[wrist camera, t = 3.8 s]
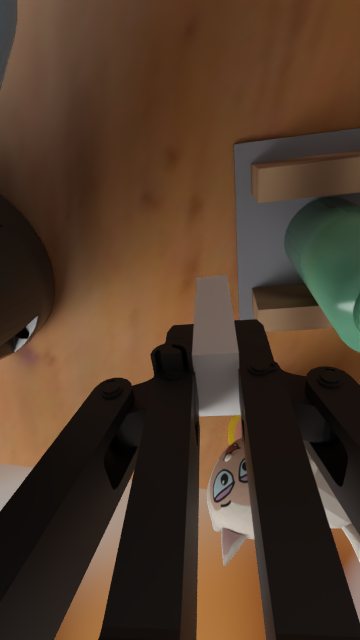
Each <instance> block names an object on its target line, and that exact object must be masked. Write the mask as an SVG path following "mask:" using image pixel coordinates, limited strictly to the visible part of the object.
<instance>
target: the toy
mask: <svg viewBox="0 0 360 640" xmlns="http://www.w3.org/2000/svg"><path fill="white" fill-rule="evenodd" d="M228 441H229V445H230V446H228V448H227V449H226V450H225V451H224V452H223V453H222V455H221V456H220V458H219V459H218V461H217V463H216V464H215V466H214V468H213V471H212V474H211V477H210V480H209V483H208V489H207V504H208V508H209V512H210V517H211V520H212V522H213V528H214V530H215V531H221V541H222V555H223V563H224V566H225V565H226V564H227V563H228V562H229V561H230V560H231V558H232V557H233V556H234V555H235V553H236V552H237V551H238V550H239V548H240V547H241V545H242V544H243V542H244V541H245V539H246V538H250V539H254V530H253V522H252V513H251V505H250V496H249V488H248V479H247V471H246V462H245V453H244V445H243V442H242V430H241V415H234V417H233V418H232V420H231V421H230V424H229V428H228ZM306 452H307V455H308V458H309V461H310V464H311V468H312V471H313V474H314V477H315V480H316V484H317V487H318V490H319V493H320V497H321V500H322V503H323V506H324V509H325V513H326V516H327V519H328V522H329V526H330V528H342V529H343V531H344V532H345V534H346V536H347V537H348V539H349V540H350V542H351V544H352V546H353V548H354V550H355V552H356V554H357V557H358V559H359V562H360V536H359V534H358V532H357V531H356V529H355V527H354V526H353V524H351V521H350V519H349V518H348V516H347V514H346V513H345V511H344V510H343V508H342V506H341V505H340V503H339V502H338V500H337V498H336V497H335V495H334V493H333V492H332V490H331V489H330V487H329V485H328V484H327V482H326V481H325V479H324V477H323V476H322V474H321V472H320V471H319V469H318V468H317V466H316V464H315V463H314V461H313V460H312V458H311V456H310V455H309V453H308V451H307V450H306Z"/></svg>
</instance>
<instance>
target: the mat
mask: <svg viewBox="0 0 360 640" xmlns="http://www.w3.org/2000/svg"><path fill="white" fill-rule="evenodd" d="M357 150H360V128H356V129H348V130H340V131H333V132H325V133H317V134H309V135H301V136H293V137H286V138H278V139H270V140H262V141H254V142H247V143H239V144H234V167H235V198H236V229H237V261H238V292H239V320H250V319H255V318H254V314H253V310H252V288H260V287H273V286H286V285H299V284H305V283H304V281H303V280H302V278H301V277H300V275H299V274H298V272H297V271H296V269H295V268H294V266H293V265H292V263H291V262H290V260H289V258H288V257H287V255H286V252H285V247H284V238H285V233H286V229H287V227H288V225H289V223H290V221H291V219H292V218H293V217H294V215H295V214H296V213H297V212H298V211H299V210H300V209H301V208H303V207H304V206H305V205H307V204H309V203H310V202H312V201H315V200H317V199H320V198H325V197H339V198H343V199H346V200H348V201H350V202H352V203H354V204H356V205H358V206H360V192H358V193H348V194H339V195H330V196H320V197H311V198H302V199H292V200H283V201H274V202H264V203H258V202H257V200H256V199H255V198H254V196H253V195H252V194H251V163H258V162H266V161H274V160H283V159H291V158H299V157H308V156H316V155H324V154H332V153H341V152H349V151H357Z"/></svg>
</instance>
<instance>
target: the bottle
mask: <svg viewBox="0 0 360 640" xmlns="http://www.w3.org/2000/svg"><path fill="white" fill-rule="evenodd" d="M284 247H285V252H286V255H287V257H288V258H289V260H290V262H291V263H292V265H293V266H294V268H295V269H296V271H297V272H298V274H299V275H300V277H301V278H302V280H303V281H304V283H305V284H306V286H307V288H308V289H309V291H310V292H311V294H312V295H313V297H314V298H315V300H316V301H317V303H318V304H319V306H320V307H321V309H322V310H323V312H324V314H325V315H326V317H327V318H328V320H329V321H330V323H331V324H332V326H333V327H334V329H335V330H336V332H337V333H338V335H339V336H340V338H341V339H342V341H343V342H344V343H345V344H346V345H347V346H349V347H350V348H352V349H353V350H355V351H357V352H359V353H360V206H358V205H356V204H354V203H352V202H350V201H348V200H346V199H343V198H339V197H325V198H320V199H317V200H315V201H312V202H310V203H309V204H307V205H305V206H304V207H303V208H301V209H300V210H299V211H298V212H297V213H296V214H295V215H294V217H293V218H292V219H291V221H290V223H289V225H288V227H287V229H286V233H285V238H284Z"/></svg>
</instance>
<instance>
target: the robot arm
mask: <svg viewBox="0 0 360 640" xmlns="http://www.w3.org/2000/svg"><path fill="white" fill-rule="evenodd" d="M16 25H17V0H0V90H1V86H2V82H3V79H4V75H5V71H6V67H7V64H8V60H9V56H10V52H11V49H12V45H13V41H14V37H15V32H16ZM54 291H55V287H54V276H53V271H52V267H51V263H50V260H49V258H48V255H47V253H46V250H45V248H44V246H43V244H42V242H41V240H40V239H39V237H38V235H37V234H36V232H35V231H34V229H33V228H32V227H31V225H30V224H29V223H28V221H27V220H26V219H25V218H24V217H23V216H22V215H21V213H20V212H19V211H18V210H17V209H16V208H15V207H14V206H12V205H11V204H10V203H9V202H8V201H7V200H6V199H4V198H3V197H2V196H1V195H0V360H1V359H3V358H5V357H7V356H9V355H11V354H13V353H15V352H16V351H18V350H19V349H21V348H22V347H23V346H25V345H26V344H27V343H28V342H29V341H30V340H31V339H32V338H33V337H34V335H35V334H36V333H37V332H38V331H39V329H40V328H41V327H42V326H43V325H44V323H45V322H46V320H47V318H48V316H49V314H50V312H51V309H52V306H53V301H54ZM151 360H152V365H153V370H154V377H153V378H152V379H150V380H148V381H146V382H143V383H140V384H137V385H133V386H132V385H131V383H130V382H129V381H128V380H127V379H124V378H112V379H108V380H105V381H103V382H102V383H100V384H99V385H98V386H96V387H95V388H94V390H93V391H92V392H91V394H90V395H89V396H88V397H87V399H86V400H85V401H84V403H83V404H82V405H81V407H80V408H79V409H78V411H77V412H76V413H75V414H74V416H73V417H72V418H71V420H70V421H69V422H68V424H67V425H66V426H65V428H64V429H63V430H62V431H61V433H60V434H59V435H58V437H57V438H56V439H55V441H54V442H53V443H52V445H51V446H50V447H49V448H48V450H47V451H46V452H45V454H44V455H43V456H42V458H41V459H40V460H39V462H38V463H37V464H36V465H35V467H34V468H33V469H32V471H31V472H30V473H29V475H28V476H27V477H26V479H25V480H24V481H23V483H22V484H21V485H20V487H19V488H18V489H17V490H16V492H15V493H14V495H13V496H12V497H11V498H10V499H9V501H8V502H7V503H6V505H5V506H4V507H3V509H2V510H1V511H0V640H54V638H55V636H56V634H57V632H58V630H59V628H60V625H61V623H62V621H63V619H64V617H65V615H66V613H67V610H68V608H69V606H70V604H71V602H72V600H73V598H74V596H75V594H76V592H77V589H78V587H79V585H80V583H81V581H82V579H83V577H84V575H85V573H86V570H87V568H88V566H89V564H90V562H91V560H92V558H93V556H94V554H95V552H96V549H97V547H98V545H99V543H100V541H101V539H102V537H103V534H104V533H105V530H106V528H107V526H108V524H109V522H110V520H111V518H112V516H113V514H114V511H115V509H116V507H117V505H118V503H119V501H120V499H121V497H122V495H123V492H124V490H125V488H126V486H127V484H128V482H129V480H130V478H131V476H132V474H133V471H134V475H133V480H132V485H131V489H130V494H129V499H128V504H127V509H126V514H125V519H124V523H123V528H122V533H121V538H120V543H119V548H118V552H117V557H116V562H115V567H114V572H113V576H112V581H111V586H110V591H109V595H108V600H107V605H106V611H105V615H104V620H103V624H102V629H101V633H100V636H99V639H98V640H196V628H197V567H198V566H197V565H198V562H197V561H198V508H199V448H200V425H199V416H223V415H241V430H242V442H243V445H244V453H245V462H246V471H247V479H248V488H249V496H250V505H251V513H252V522H253V530H254V539H255V548H256V556H257V564H258V573H259V582H260V590H261V599H262V607H263V616H264V625H265V633H266V640H360V622H359V619H358V616H357V612H356V609H355V606H354V603H353V599H352V596H351V593H350V590H349V587H348V583H347V580H346V577H345V574H344V571H343V567H342V564H341V561H340V558H339V555H338V551H337V548H336V545H335V542H334V538H333V535H332V532H331V529H330V526H329V522H328V519H327V516H326V513H325V509H324V506H323V503H322V500H321V497H320V493H319V490H318V487H317V484H316V480H315V477H314V474H313V471H312V468H311V464H310V461H309V458H308V455H307V452H306V450H307V451H308V453H309V455H310V456H311V458H312V460H313V461H314V463H315V464H316V466H317V468H318V469H319V471H320V472H321V474H322V476H323V477H324V479H325V481H326V482H327V484H328V485H329V487H330V489H331V490H332V492H333V493H334V495H335V497H336V498H337V500H338V502H339V503H340V505H341V506H342V508H343V510H344V511H345V513H346V514H347V516H348V518H349V519H350V521H351V523H352V524H353V526H354V527H355V529H356V531H357V532H358V534H359V536H360V385H359V384H358V383H357V382H356V381H355V380H354V379H353V378H352V377H351V376H350V375H348V374H347V373H346V372H344V371H342V370H339V369H337V368H333V367H317V368H315V369H312V370H311V371H310V372H309V373H308V374H307V377H305V376H299V375H294V374H290V373H287V372H285V371H283V370H282V369H281V368H280V366H279V365H278V363H276V362H275V361H274V359H273V356H272V352H271V349H270V345H269V342H268V340H267V335H266V332H265V329H264V325H263V324H262V323H260V322H259V321H258V320H257V319H250V320H235V321H234V317H233V311H232V304H231V297H230V291H229V284H228V277H227V275H220V276H208V277H197V282H196V298H195V314H194V324H187V325H173V326H172V327H171V329H170V330H169V331H168V332H167V337H166V342H165V344H162V345H160V346H158V347H156V348H155V349H154V350H153V351H152V353H151ZM134 469H135V470H134Z"/></svg>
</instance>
